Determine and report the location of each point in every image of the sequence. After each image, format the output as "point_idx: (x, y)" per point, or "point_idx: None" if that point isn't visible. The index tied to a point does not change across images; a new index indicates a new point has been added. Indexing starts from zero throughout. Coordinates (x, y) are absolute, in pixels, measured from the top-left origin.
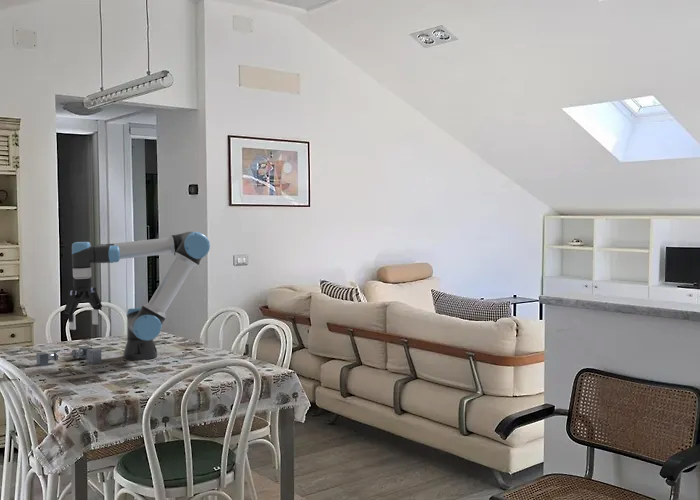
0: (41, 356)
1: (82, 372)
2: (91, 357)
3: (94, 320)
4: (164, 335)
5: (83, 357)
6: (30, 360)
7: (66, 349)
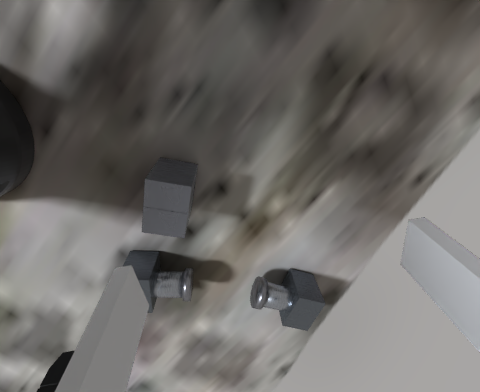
0: (318, 297)
1: (321, 77)
2: (193, 185)
3: (131, 318)
4: None
5: (158, 266)
6: (263, 346)
7: None
